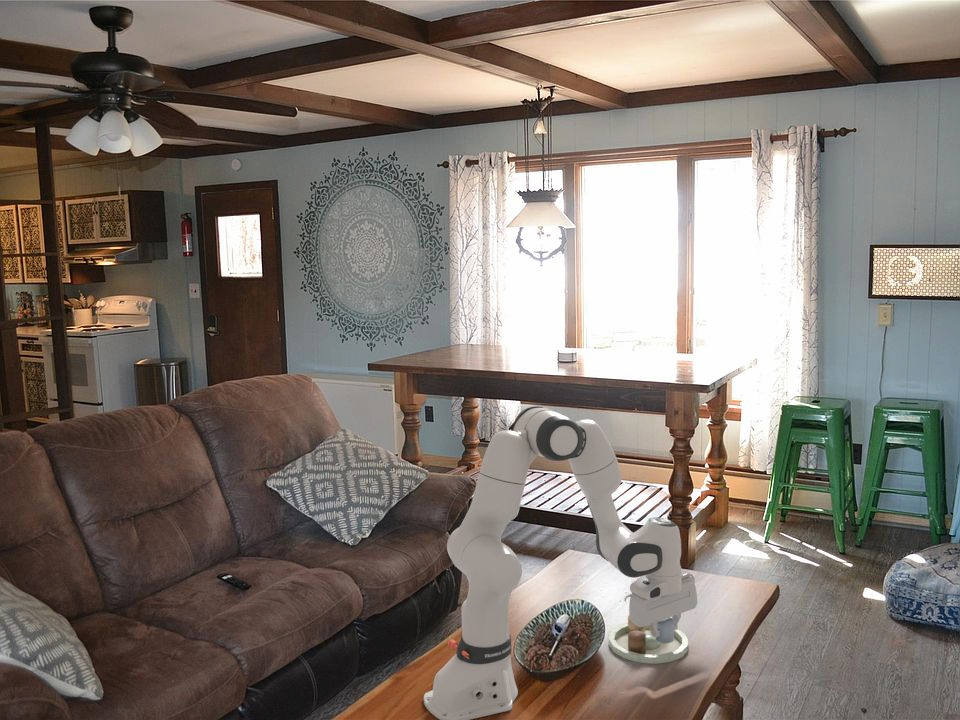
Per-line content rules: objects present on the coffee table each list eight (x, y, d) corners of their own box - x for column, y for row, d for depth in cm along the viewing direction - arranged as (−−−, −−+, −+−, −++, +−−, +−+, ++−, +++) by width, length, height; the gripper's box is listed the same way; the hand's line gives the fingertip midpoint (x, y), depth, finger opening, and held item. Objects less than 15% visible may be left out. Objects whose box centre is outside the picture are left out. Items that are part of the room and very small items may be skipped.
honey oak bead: (635, 640, 223) (635, 622, 222) (624, 634, 226) (624, 616, 226) (648, 636, 225) (648, 618, 224) (637, 630, 229) (637, 612, 228)
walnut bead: (640, 658, 213) (640, 640, 212) (625, 654, 216) (624, 635, 215) (648, 652, 216) (648, 633, 216) (633, 647, 219) (633, 629, 218)
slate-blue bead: (652, 638, 216) (652, 619, 215) (665, 633, 218) (665, 615, 217) (664, 644, 212) (664, 626, 211) (677, 639, 214) (677, 621, 213)
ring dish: (645, 675, 207) (645, 661, 206) (593, 644, 224) (593, 631, 223) (704, 653, 217) (704, 640, 216) (650, 624, 234) (650, 612, 234)
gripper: (685, 567, 221) (685, 617, 223) (624, 587, 210) (626, 639, 212) (702, 575, 215) (703, 626, 217) (641, 595, 205) (643, 649, 207)
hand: (664, 633), depth 215 cm, fingers closed on slate-blue bead, 4 cm apart
